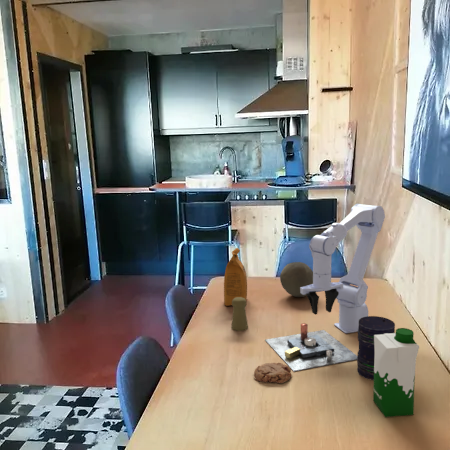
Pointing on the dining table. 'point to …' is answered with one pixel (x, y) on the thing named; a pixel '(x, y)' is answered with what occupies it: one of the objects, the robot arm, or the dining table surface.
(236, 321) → the olive green shaker
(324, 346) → the metal parts fixture
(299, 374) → the dining table surface
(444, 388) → the dining table surface
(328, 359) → the dowel pin
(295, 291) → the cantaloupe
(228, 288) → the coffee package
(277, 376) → the cookie
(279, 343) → the post base
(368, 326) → the storage jar
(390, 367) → the milk carton
